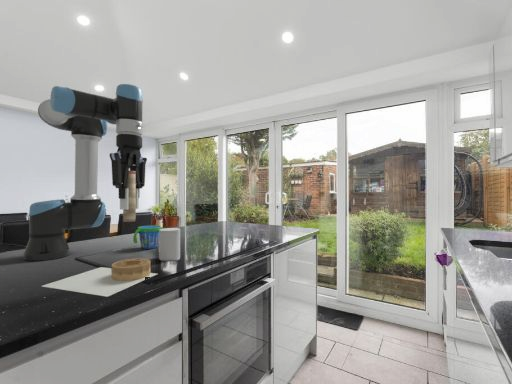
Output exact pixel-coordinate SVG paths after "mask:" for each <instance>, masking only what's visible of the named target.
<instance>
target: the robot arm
mask: <svg viewBox="0 0 512 384" xmlns="http://www.w3.org/2000/svg"><path fill="white" fill-rule="evenodd" d="M143 101H144V100H143V91H142V89H141V88H140V87H138V86H136V85H134V84H130V83H123V84H122V83H120V84H118V85H117V86H116V91H115V98H111V97H107V96H103V95H102V96H101V95H98V94H93V93H90V92H84V91H81V90H76V89H72V88H69V87H63V86H57V85H54V86H53V87H52V88H51V91H50V97H49V99H46V100H43V101H42V102H41V103H40V104H38V108H37V114H38V116H39V118H40V120H41V121H42V122H44V123H45V124H46V125H48V126H51V127H52V128H55V129H58V130H60V131H61V130H62V131H69V132H71V134H70V135H71V136H70V137H72V138H73V139H74V140H75V144H74V145H75V151H74V157H75V158H74V160H75V162H74V194H73V195H72V196H71V197H70V199H69V200H70V202H66V200H65V199H62V198H61V199H52V200H44V201H36V202H33V203H31V204H30V206H29V213H28V217H29V221H28V222H29V224H28V226H29V228H28V230H29V231H28V234H29V235H28V236H29V239H28V241H27V244H26V246H25V250H24V252H23V260H24V261H27V262H28V261H29V262H32V261H33V262H39V261H50V260H55V259H60V258H64V257H67V256H69V255H70V254H71V253H70V251H71V249H70V247H69V244H68V241H67V239H66V237H65V235H66V234H65V232H66V231H65V230H78V229H91V228H97V227H100V226H101V225H103V222H104V220H105V217H106V208H107V207H106V203H105V202H104V201H102V198H101V197H100V196H99V194H98V162H99V161H98V160H99V158H98V157H99V142H100V141H101V140H102V139H103V136H105V135H107V131H108V124H111V125H116V126H115V133H116V136H115V141H116V142H115V144H116V145H115V146H116V147H117V150H116V152H110V153H109V158H110V161H111V178H112V180H111V181H112V186H113V187H115V189H118V199H119V209H120V210H123V209H126V210H127V209H129V188H126V187H127V180H128V173H129V171H136V210H138V209H139V205H140V203H139V198H140V189H143V187H145V181H146V164H147V161H148V159H147V157H143V156H142V154H141V149H142V148H143V137H142V135H143Z"/></svg>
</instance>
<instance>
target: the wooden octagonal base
mask: <svg viewBox="0 0 512 384" xmlns="http://www.w3.org/2000/svg"><path fill="white" fill-rule="evenodd" d="M151 261H152V260H150V259H148V258H128V259H121V260H118V261H114V262H113V263H112V264H111V267H110V268H111V278H112V279H113V280H116V281H133V280H138V279H142V278H145V277H147V276H149V275H150V273H152V272H151V271H152V270H151Z"/></svg>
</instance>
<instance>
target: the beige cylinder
mask: <svg viewBox="0 0 512 384" xmlns="http://www.w3.org/2000/svg"><path fill="white" fill-rule="evenodd" d="M126 188H129V209H127V210H126V209H122V210H123V211H122V215H123V216H122V222H125V223H128V222H130V223H131V222H133V223H134V222H136V220H137V219H136V217H137V215H136V214H137V213H136V212H137V209H136V171H130V170H129V173H128V180H127V187H126Z"/></svg>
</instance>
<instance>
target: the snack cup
mask: <svg viewBox="0 0 512 384" xmlns="http://www.w3.org/2000/svg"><path fill="white" fill-rule="evenodd" d="M159 229H164V228H163V227H162V226H161V225H150V224H149V225H143V226H142V225H141V226H138V227H137V229H136V230H135V231H134V234H133V241H132V242H133V243H134V244H137V243H138V238H137V235H138V236H139V241H140V248H141V249H143V250H144V249H145V250H152V249H157V248H159Z"/></svg>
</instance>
